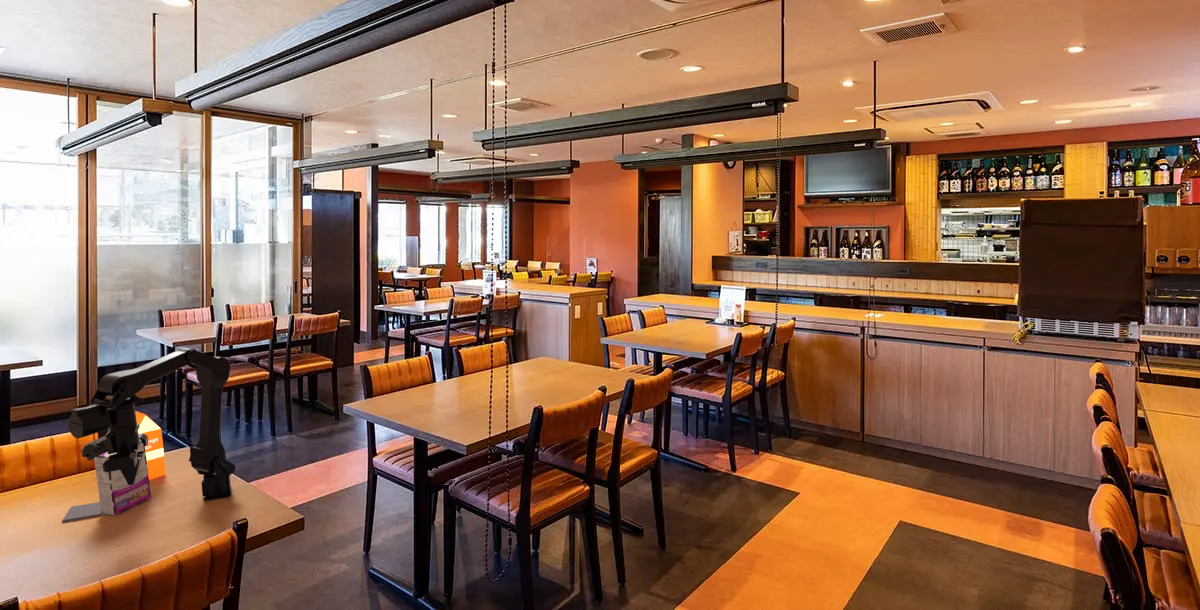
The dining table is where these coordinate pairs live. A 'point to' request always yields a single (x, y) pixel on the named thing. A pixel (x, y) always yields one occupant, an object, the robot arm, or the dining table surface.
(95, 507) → the mat
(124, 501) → the candy bar box
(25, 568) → the dining table surface
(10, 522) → the dining table surface
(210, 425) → the robot arm
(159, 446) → the orange juice
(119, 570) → the dining table surface
